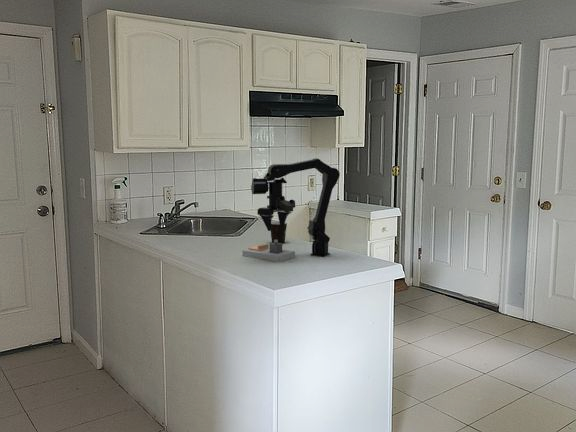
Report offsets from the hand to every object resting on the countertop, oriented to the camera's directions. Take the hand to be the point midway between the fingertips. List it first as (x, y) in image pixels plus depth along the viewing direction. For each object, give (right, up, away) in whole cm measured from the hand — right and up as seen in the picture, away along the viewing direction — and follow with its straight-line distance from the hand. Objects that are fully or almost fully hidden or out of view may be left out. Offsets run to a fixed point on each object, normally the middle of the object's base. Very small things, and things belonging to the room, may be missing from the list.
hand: (275, 229), depth 242 cm
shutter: (-8, -9, +7) cm, 14 cm away
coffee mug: (0, -8, +34) cm, 35 cm away
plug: (0, -12, +2) cm, 12 cm away
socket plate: (-3, -12, +4) cm, 13 cm away
